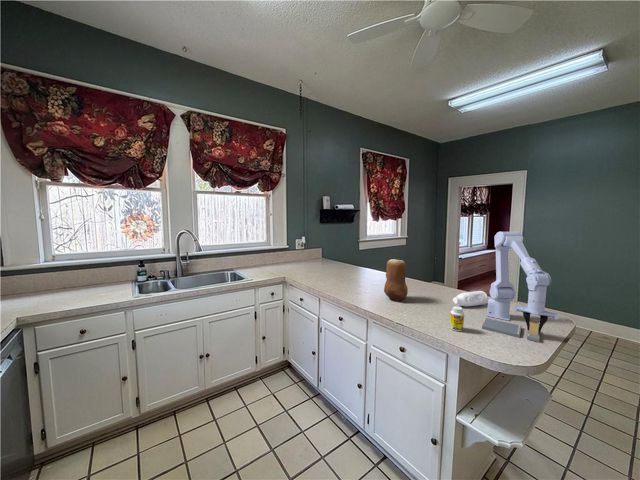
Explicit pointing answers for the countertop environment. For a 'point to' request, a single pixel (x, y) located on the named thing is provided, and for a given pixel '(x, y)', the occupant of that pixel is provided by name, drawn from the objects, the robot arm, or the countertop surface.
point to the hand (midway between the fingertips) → (533, 330)
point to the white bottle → (471, 299)
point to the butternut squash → (396, 280)
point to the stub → (533, 331)
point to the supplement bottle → (457, 319)
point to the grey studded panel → (502, 327)
